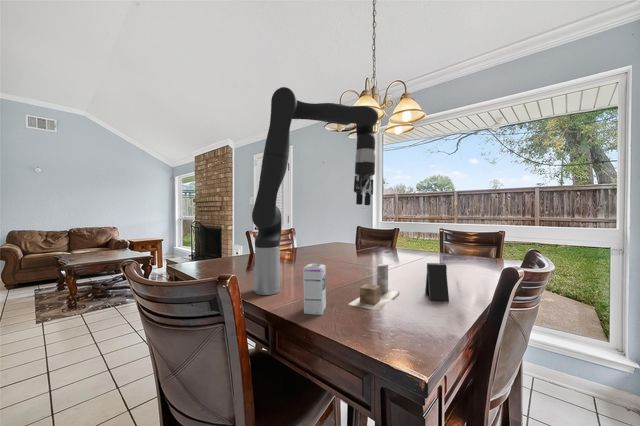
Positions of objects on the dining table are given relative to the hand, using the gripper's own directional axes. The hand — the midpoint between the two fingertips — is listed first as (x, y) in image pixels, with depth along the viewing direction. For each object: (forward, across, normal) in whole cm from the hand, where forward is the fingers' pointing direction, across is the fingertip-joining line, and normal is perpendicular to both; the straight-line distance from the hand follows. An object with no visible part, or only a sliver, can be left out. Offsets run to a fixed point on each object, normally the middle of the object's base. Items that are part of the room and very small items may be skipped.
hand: (363, 204), depth 103 cm
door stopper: (+32, -7, +26) cm, 42 cm away
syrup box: (+34, +28, -3) cm, 44 cm away
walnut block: (+32, +12, +8) cm, 35 cm away
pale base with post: (+33, +7, +9) cm, 35 cm away
